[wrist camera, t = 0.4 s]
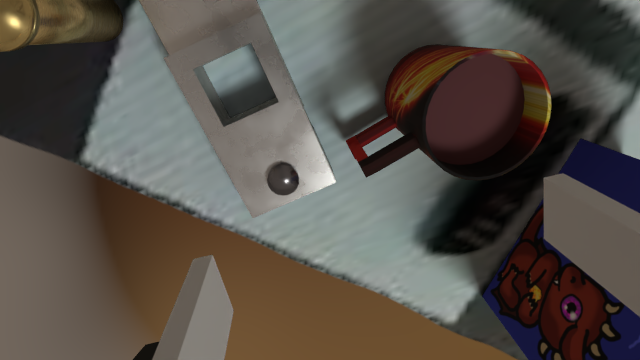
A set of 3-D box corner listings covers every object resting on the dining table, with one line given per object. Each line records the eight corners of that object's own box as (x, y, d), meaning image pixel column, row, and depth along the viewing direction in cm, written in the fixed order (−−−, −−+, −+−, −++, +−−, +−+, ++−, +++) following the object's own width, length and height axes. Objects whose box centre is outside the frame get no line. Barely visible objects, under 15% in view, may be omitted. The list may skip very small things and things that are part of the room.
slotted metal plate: (118, -52, 33) (92, -64, 29) (212, -99, 33) (200, -119, 28) (256, 201, 42) (252, 220, 38) (332, 169, 42) (337, 184, 37)
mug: (341, 141, 41) (361, 182, 30) (425, 23, 37) (483, 19, 26) (412, 187, 43) (455, 241, 32) (496, 81, 40) (578, 100, 29)
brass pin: (61, 3, 34) (-78, -16, 21) (107, -20, 34) (-6, -53, 21) (92, 53, 36) (-19, 64, 23) (136, 32, 36) (48, 31, 23)
